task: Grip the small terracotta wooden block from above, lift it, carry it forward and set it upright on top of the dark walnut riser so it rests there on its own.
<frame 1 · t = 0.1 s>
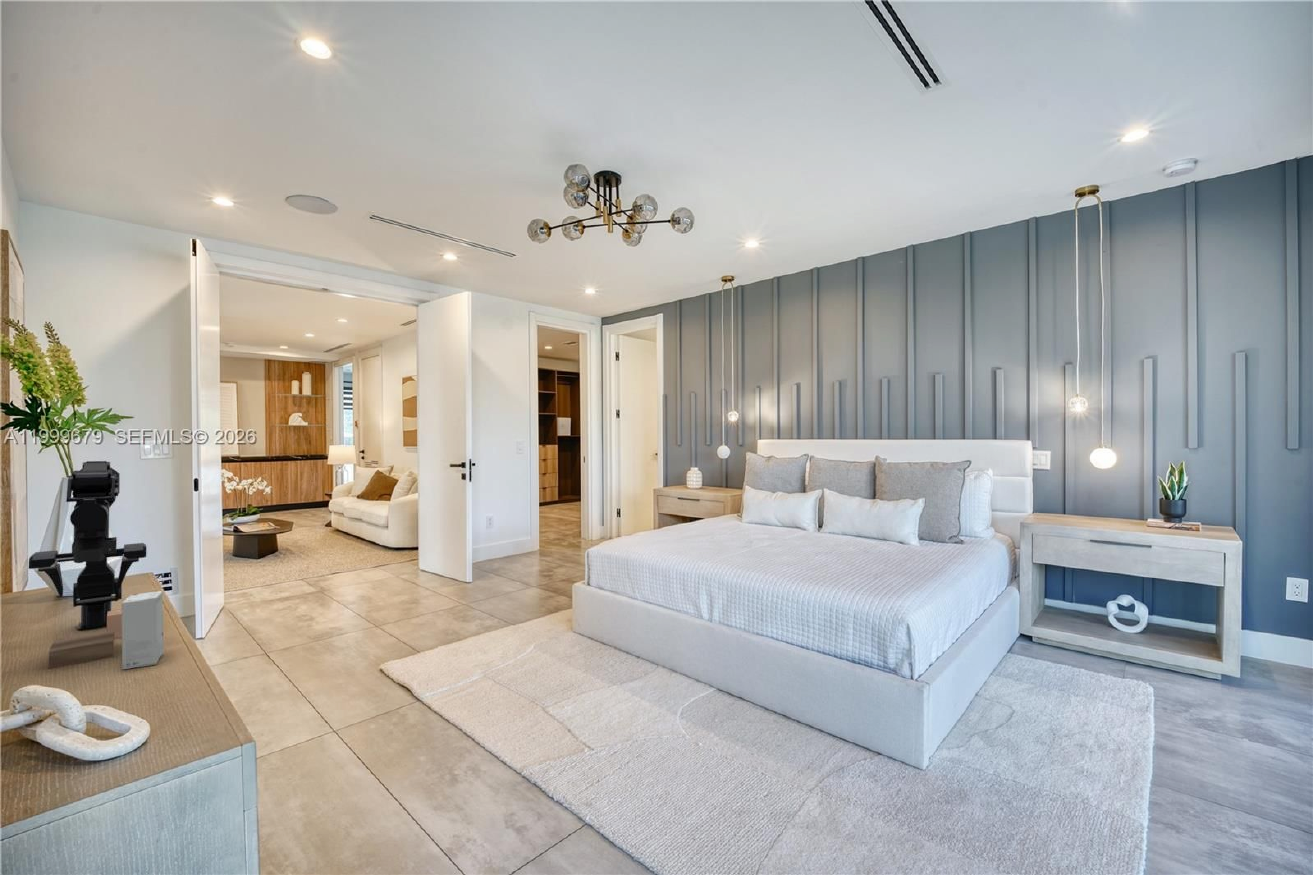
hand: (90, 592, 128), 15 cm above the table, tool pointing down, fingers open, 9 cm apart
terracotta block: (120, 635, 142), on the table
walnut riser: (83, 657, 128), on the table
skincare box: (142, 662, 125), on the table
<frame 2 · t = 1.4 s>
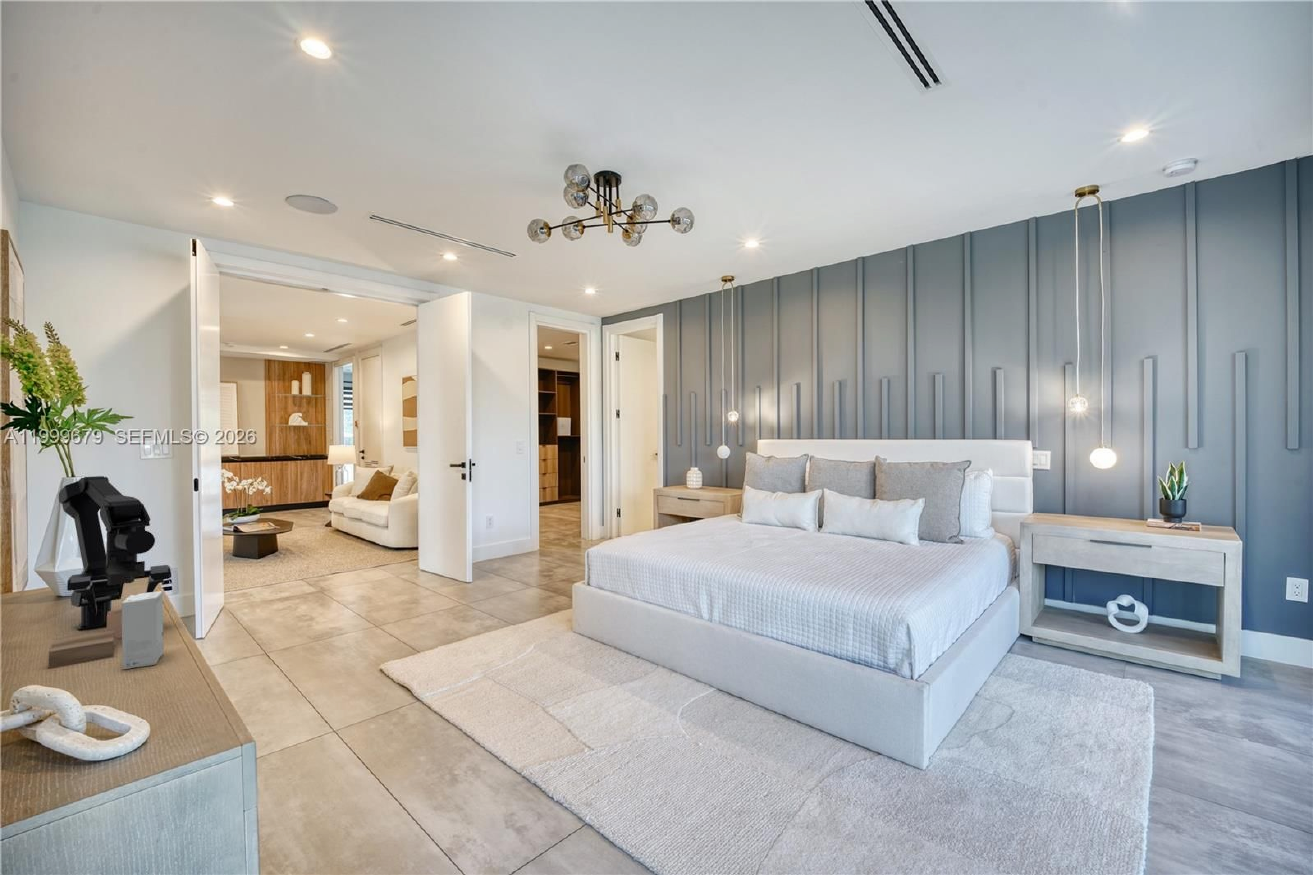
hand: (120, 610, 142), 6 cm above the table, tool pointing down, fingers open, 9 cm apart
nothing on the table moved.
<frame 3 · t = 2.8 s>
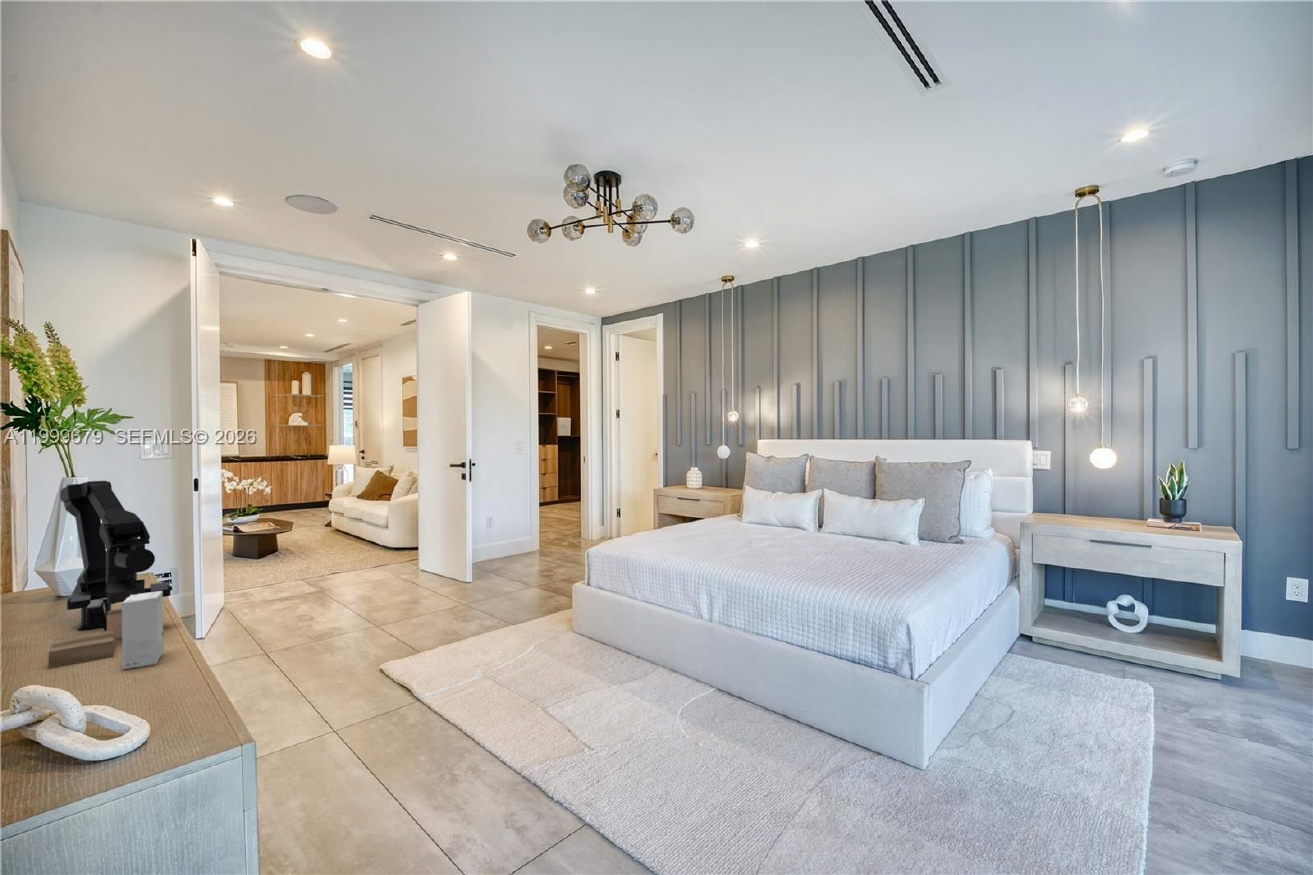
hand: (120, 629, 142), 2 cm above the table, tool pointing down, fingers closed on terracotta block, 5 cm apart
terracotta block: (120, 635, 142), on the table, touching gripper
everything else where it was.
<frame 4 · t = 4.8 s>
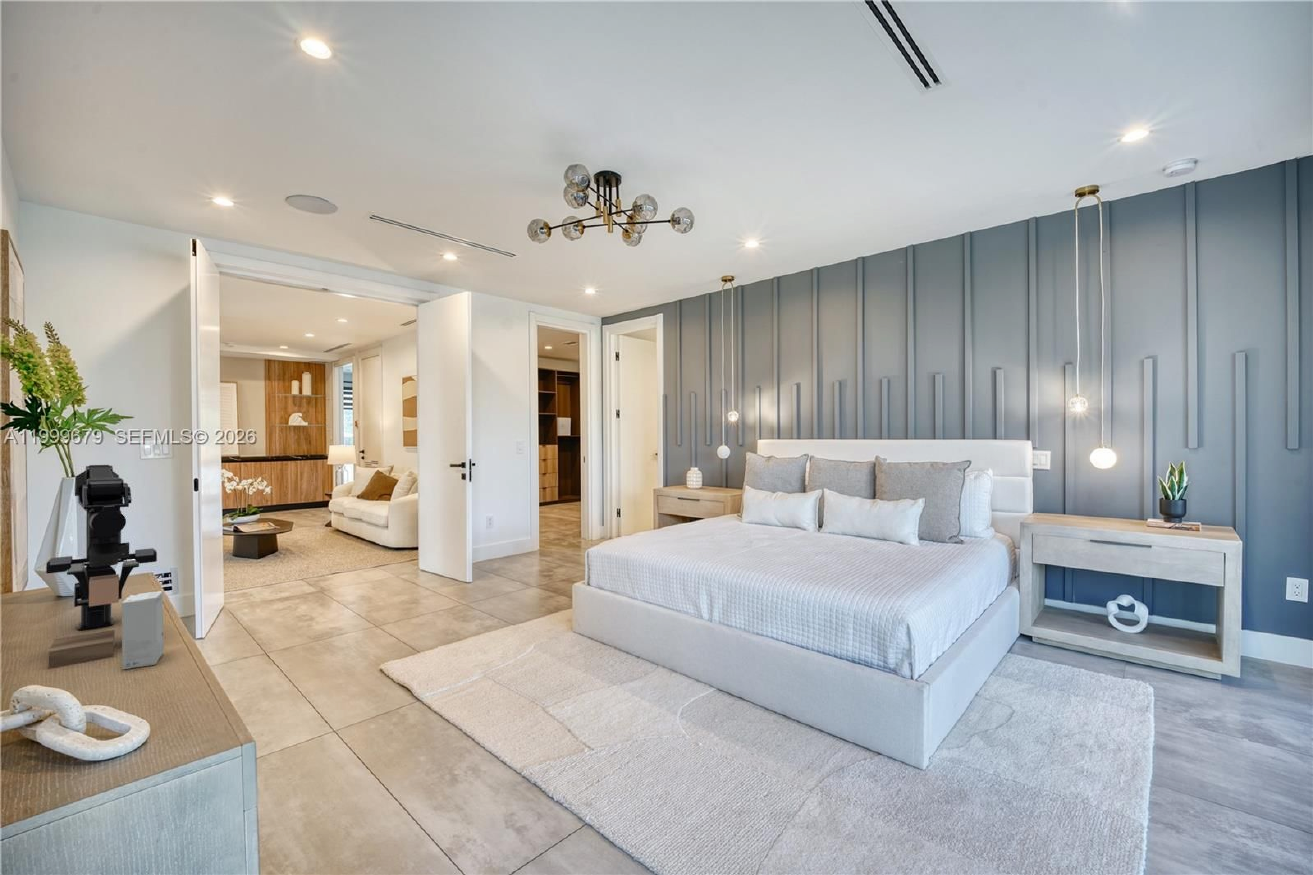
hand: (103, 596, 135), 12 cm above the table, tool pointing down, fingers closed on terracotta block, 5 cm apart
terracotta block: (104, 602, 135), point 10 cm above the table, touching gripper
everything else where it was.
when the fingers open (7 cm above the table, at t = 6.8 s): terracotta block drops 2 cm, resting on walnut riser.
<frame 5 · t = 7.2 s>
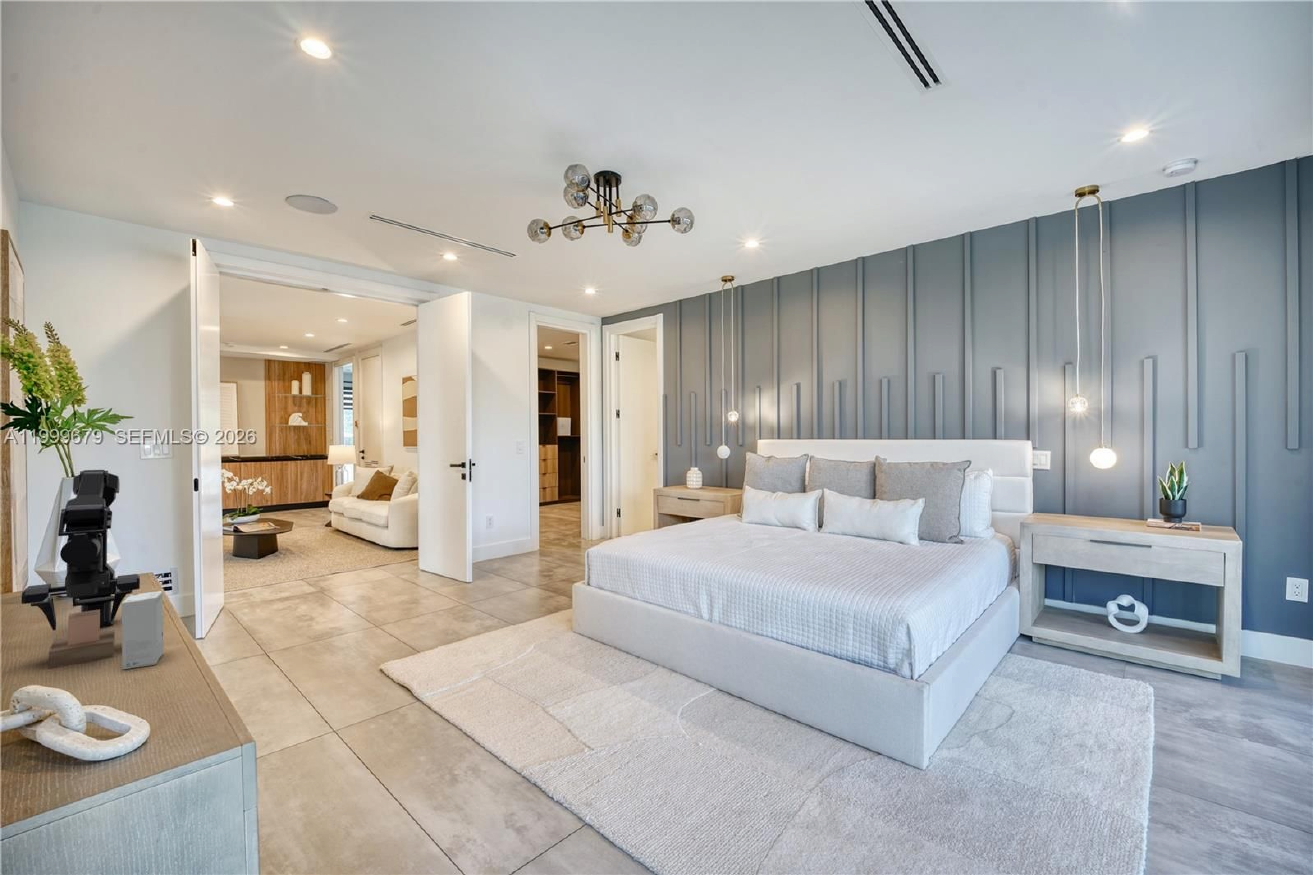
hand: (83, 625, 128), 7 cm above the table, tool pointing down, fingers open, 9 cm apart
terracotta block: (83, 640, 128), point 4 cm above the table, touching walnut riser
walnut riser: (83, 657, 128), on the table, touching terracotta block
everything else where it was.
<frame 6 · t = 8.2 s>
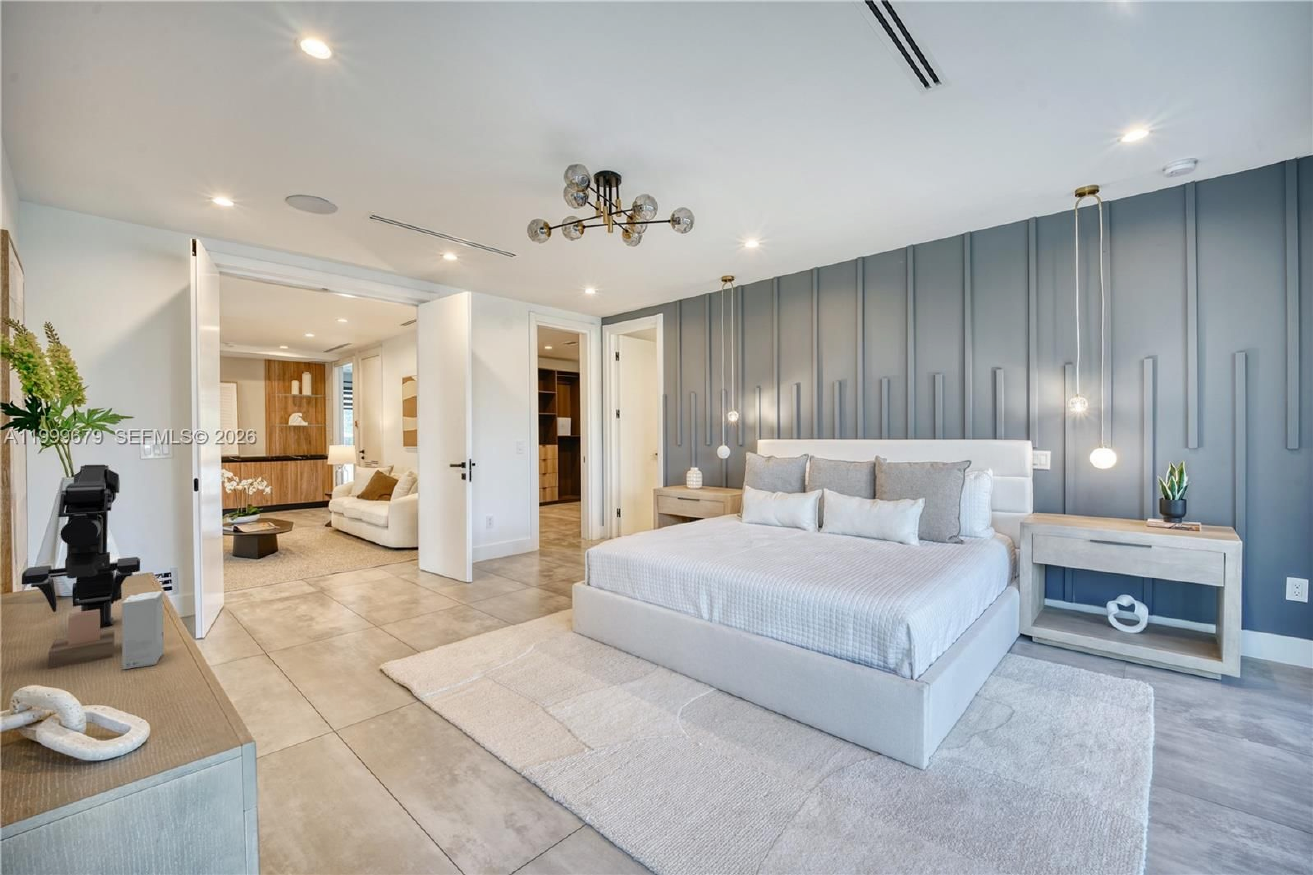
hand: (84, 607, 128), 11 cm above the table, tool pointing down, fingers open, 9 cm apart
nothing on the table moved.
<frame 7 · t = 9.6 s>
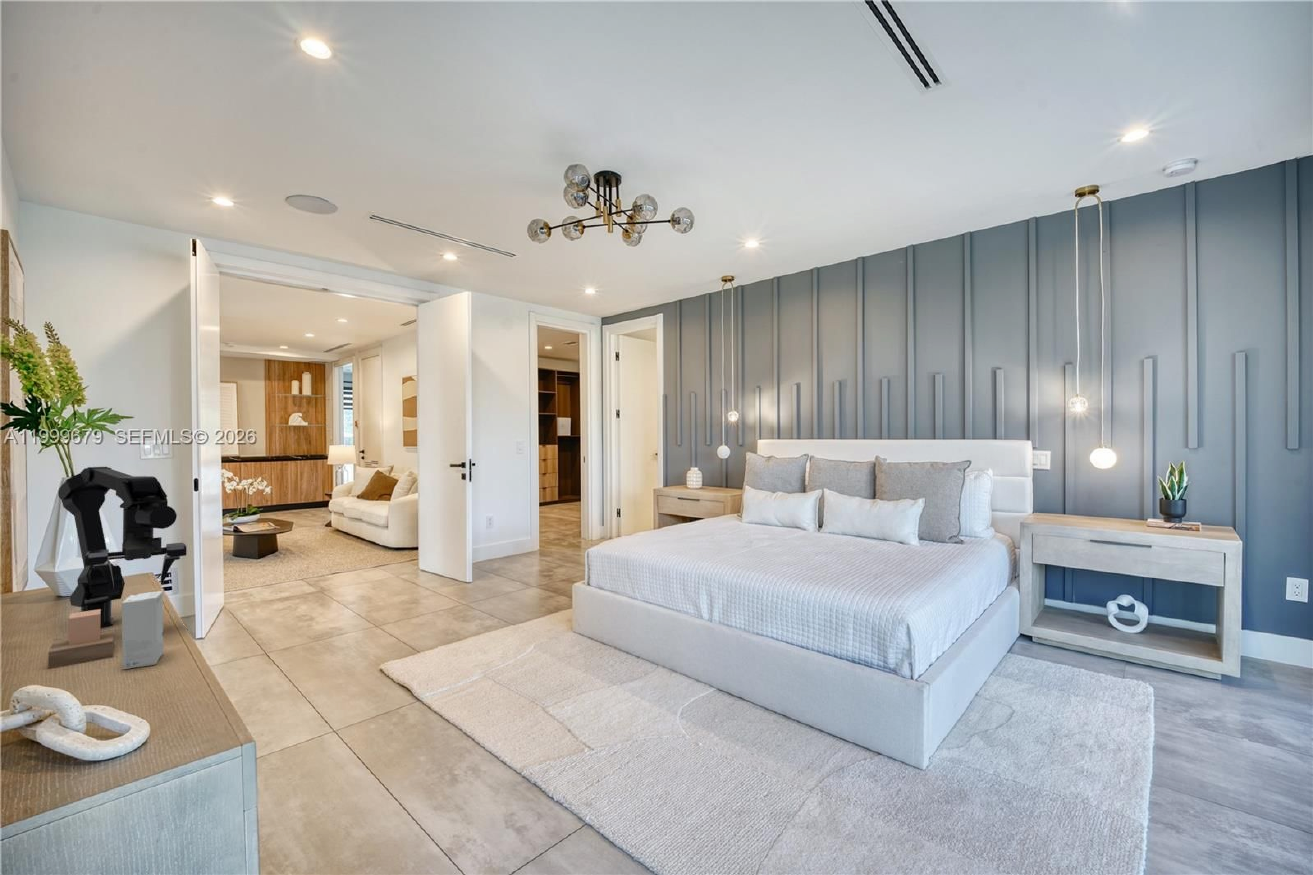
hand: (137, 587, 142), 12 cm above the table, tool pointing down, fingers open, 9 cm apart
nothing on the table moved.
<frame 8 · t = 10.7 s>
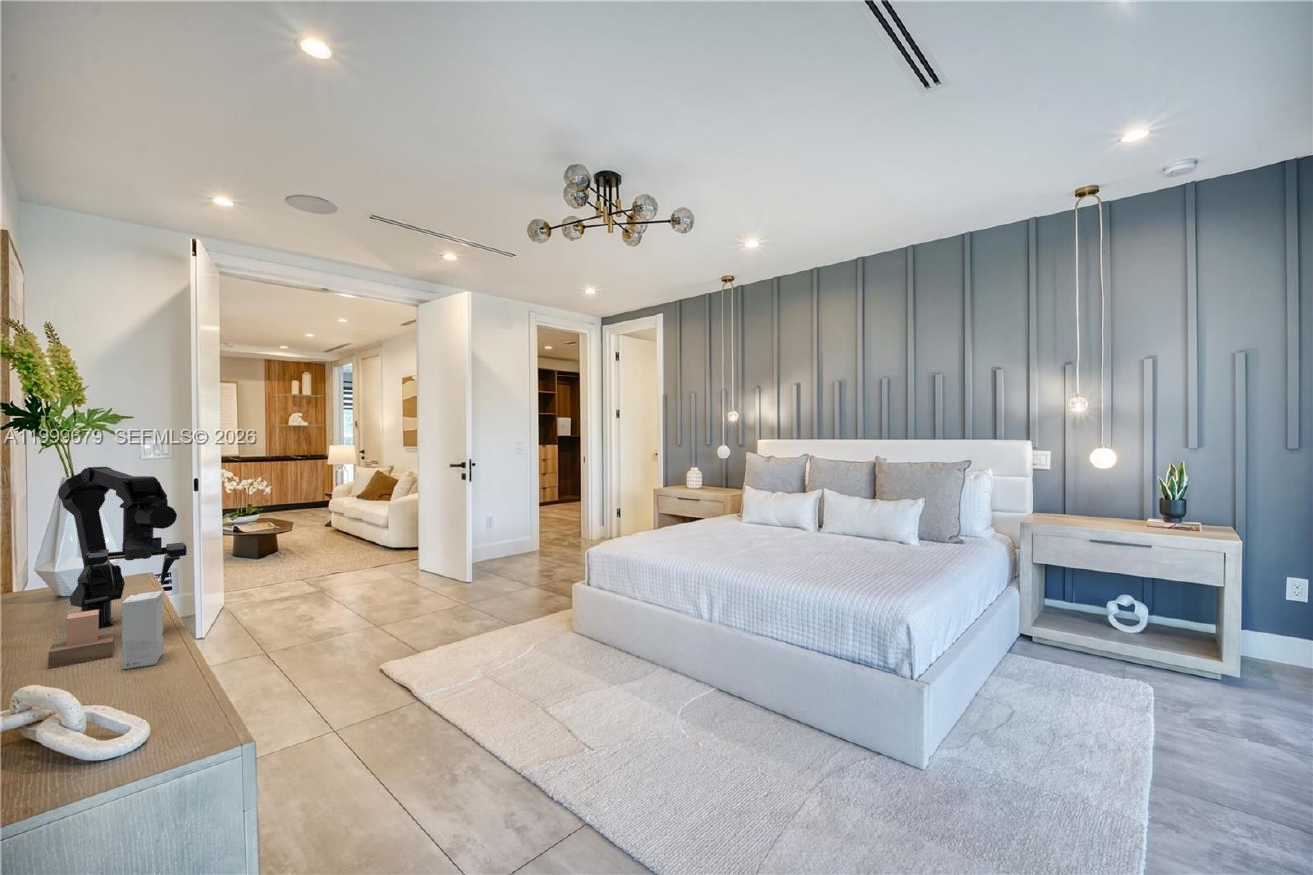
hand: (137, 587, 142), 12 cm above the table, tool pointing down, fingers open, 9 cm apart
nothing on the table moved.
at the end: terracotta block inside the target area on the walnut riser (0.3 cm from its centre), point 4.0 cm above the walnut riser's base; terracotta block tilted 0°; terracotta block touching walnut riser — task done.
